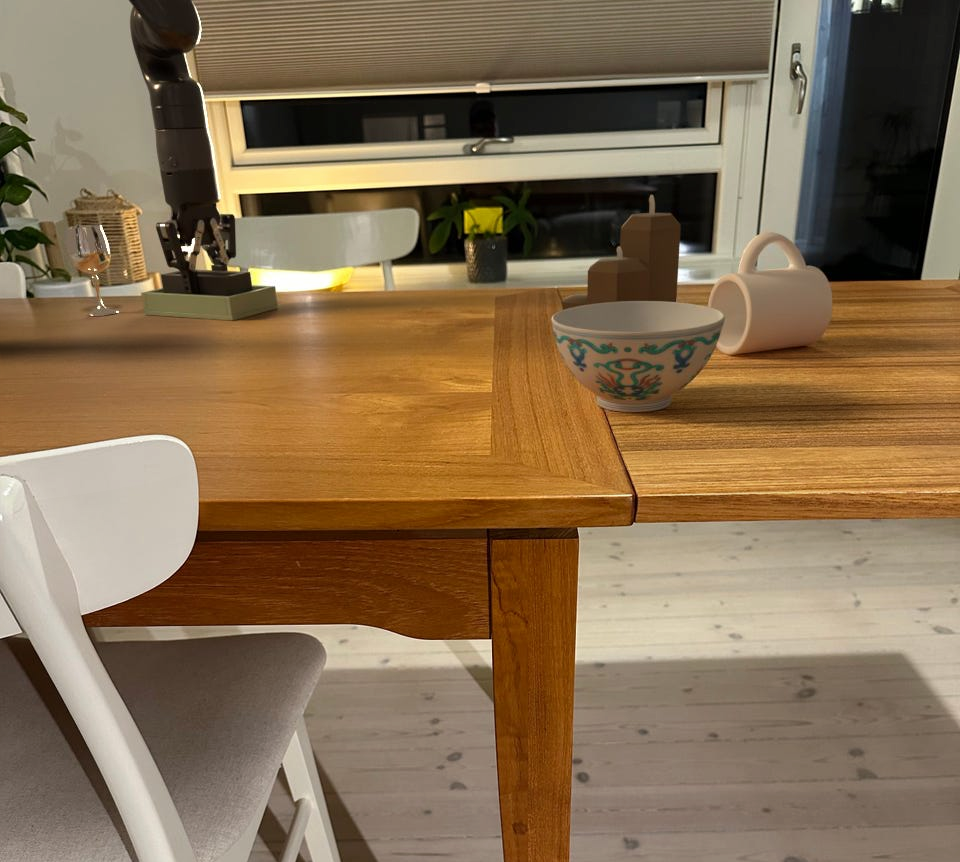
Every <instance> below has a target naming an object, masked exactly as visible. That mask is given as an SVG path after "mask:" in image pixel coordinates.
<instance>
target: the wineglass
mask: <svg viewBox="0 0 960 862" xmlns="http://www.w3.org/2000/svg"><path fill="white" fill-rule="evenodd" d="M66 249H67V254H68V258H69V260H70V263H71V264H72V265H73V266H74V268H76V269H77V270H79V271H81V272H83V273H86V274H90V275H91V276H92V277H91V282H92V285H93V287H94V290H95V292H96V297H97V303H98V305H97V308H95V309H94V310H92V311H89V312H87V313H86V315H87V316H89V317H103V316H111V315H115V314H118V313H119V310H117V309H111V308H108V307H106V306H105V305H104V304H103V301H102V297H101V291H100V278H99V277H98V276H97V274H99V273H101V272H103V271H104V270H106V269H107V268H108V267H109V265H110V264H111V261H112V260H111V258H112V255H111V254H112V253H111V248H110V245H109V241H108V239H107V237H106V234H105V232H104V230H103V227H102V225H101V224H83V225H81V224H80V225H72V226H67V227H66Z"/></svg>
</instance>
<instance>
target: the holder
mask: <svg viewBox="0 0 960 862" xmlns="http://www.w3.org/2000/svg"><path fill="white" fill-rule="evenodd" d="M252 289H253V291H249V292H245V293H241V294H237V295H232V296H213V295H193V294H174V293H164V290H163V287H162V288H157V289H156V288H155V289H152V290H147V291H142V292H140V295H141V300H142V305H143V310H144V315H145V316H155V317H156V316H158V317H171V318H189V319H202V320H203V319H204V320H219V321H233V322H234V321H236V320H241V319H243V318H248V317H250V316H251V317H252V316H254V315H259V314H261V313H262V314H263V313H266V312H269V311H274V310H276V309H279V305H278V297H277V288H276V286H275V285H258V284H252Z"/></svg>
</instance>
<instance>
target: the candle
mask: <svg viewBox="0 0 960 862" xmlns="http://www.w3.org/2000/svg"><path fill="white" fill-rule="evenodd" d="M648 202H649V210H648V211H649V212H644V213H632V214H631V215H630V216H629V218H627V220H626V221H625V222H624V223H623V224H622V226H621V228H620V235H619V237H620V238H619V239H620V241H619V246H617V247H616V257H605V258H600V259H598V260H596V261H595V262H594V263H593V264H592V265H590V266H589V268H588V270H587V292H583V293H573V294H570V295H567V296H565V297H564V299H563V300H562V306H561V307H562V310H565V309H569V308H573V307H578V306H583V305H590V304H598V303H609V302H626V301H663V302H677V294H678V279H679V278H678V277H679V261H680V247H681V246H680V245H681V243H680V242H681V231H682V229H681V228H682V226H681V223H680V222H679V221H678V220H677V219H676V217H675V216H674V215H673V213H671V212H656V211H655V210H656V202H655V197H654V195H653V194H650V195H649V198H648ZM562 310H561V311H562Z"/></svg>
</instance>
